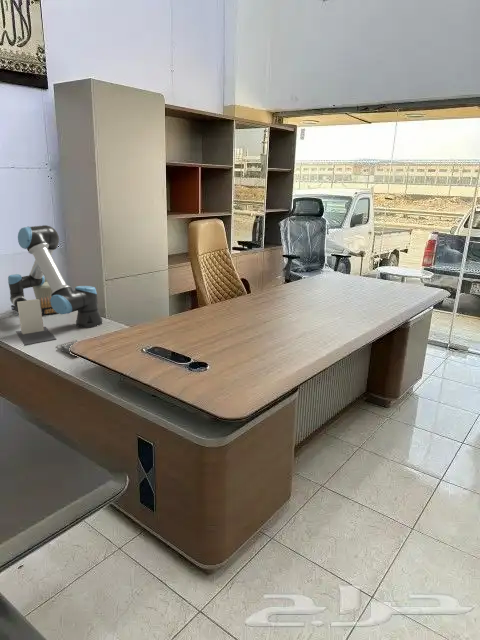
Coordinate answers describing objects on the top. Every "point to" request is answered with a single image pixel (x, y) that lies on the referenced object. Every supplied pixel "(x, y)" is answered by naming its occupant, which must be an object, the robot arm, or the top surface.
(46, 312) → the ammunition clip
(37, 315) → the book
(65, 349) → the graphics card
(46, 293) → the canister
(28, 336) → the desk pad
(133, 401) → the top surface
